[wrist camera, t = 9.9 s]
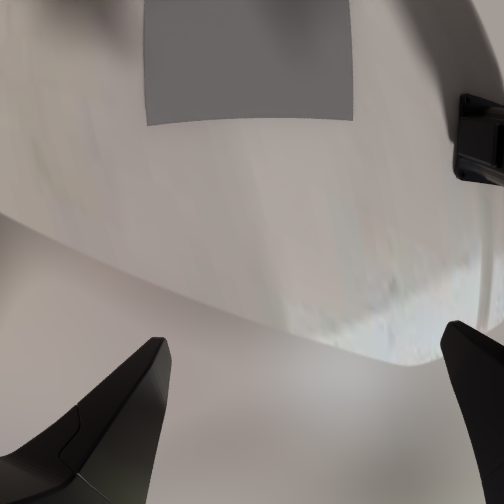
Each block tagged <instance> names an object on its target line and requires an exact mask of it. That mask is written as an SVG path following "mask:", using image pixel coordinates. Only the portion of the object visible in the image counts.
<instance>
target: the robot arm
mask: <svg viewBox="0 0 504 504" xmlns="http://www.w3.org/2000/svg"><path fill="white" fill-rule="evenodd" d="M466 98H467V103H466V101H465V99H466ZM461 171H462V175H461ZM455 175H456V177H457V178H458V179H460V180H462V181H470V182H478V183H485V184H492V185H499V186H503V187H504V106H502V105H500V104H497V103H494V102H491V101H488V100H486V99H483V98H480V97H477V96H473V95H470V94H461V96H460V112H459V134H458V148H457V160H456V169H455ZM440 346H441V350H442V353H443V357H444V360H445V363H446V367H447V370H448V374H449V377H450V380H451V384H452V387H453V390H454V392H455V395H456V398H457V401H458V403H459V406H460V409H461V412H462V415H463V418H464V421H465V424H466V427H467V430H468V433H469V437H470V440H471V443H472V447H473V450H474V454H475V458H476V461H477V465H478V469H479V473H480V477H481V480H482V486H483V490H484V496H485V501H486V504H504V346H503V345H501V344H500V343H498V342H496V341H494V340H493V339H491V338H489V337H488V336H486V335H484V334H482V333H481V332H479V331H477V330H475V329H474V328H472V327H470V326H468V325H467V324H465V323H463V322H461V321H459V320H457V321H451V322H449V323H448V324H447V326H446V328H445V331H444V333H443V336H442V338H441V342H440ZM171 362H172V360H171V354H170V351H169V347H168V343H167V340H166V339H165V338H164V337H152V338H150V339H149V340H148V341H147V342H146V343H145V344H144V345H142V346H141V347H140V348H139V349H138V350H137V351H136V352H135V353H133V354H132V355H131V356H130V357H129V358H128V359H127V360H126V361H125V362H123V363H122V364H121V365H120V366H119V367H118V368H117V369H115V370H114V371H113V372H112V373H111V374H110V375H109V376H108V377H106V378H105V379H104V380H103V381H102V382H101V383H100V384H99V385H97V386H96V387H95V388H94V389H93V390H92V391H91V392H90V393H89V394H87V395H86V396H85V397H84V398H83V399H82V400H81V401H79V402H78V403H77V405H75V406H74V407H73V408H71V409H70V410H69V411H68V412H67V413H66V414H64V416H62V417H61V418H60V419H59V420H57V421H56V422H55V423H54V424H52V425H51V426H50V427H48V428H47V429H46V430H44V431H43V432H42V433H40V434H39V435H37V436H36V437H35V438H33V439H32V440H30V441H29V442H27V443H26V444H24V445H23V446H22V447H20V448H19V449H17V450H16V451H14V452H12V453H10V454H8V455H5V456H2V457H0V504H145V503H146V498H147V493H148V488H149V483H150V479H151V474H152V469H153V464H154V460H155V455H156V451H157V446H158V442H159V437H160V433H161V429H162V424H163V420H164V416H165V411H166V406H167V398H168V389H169V381H170V372H171Z"/></svg>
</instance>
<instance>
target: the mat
mask: <svg viewBox="0 0 504 504" xmlns="http://www.w3.org/2000/svg"><path fill="white" fill-rule="evenodd" d="M144 71H145V98H146V116H147V126H151V125H159V124H168V123H178V122H188V121H201V120H215V119H235V118H316V119H335V120H350V121H353V62H352V39H351V23H350V10H349V0H145V15H144Z"/></svg>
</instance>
